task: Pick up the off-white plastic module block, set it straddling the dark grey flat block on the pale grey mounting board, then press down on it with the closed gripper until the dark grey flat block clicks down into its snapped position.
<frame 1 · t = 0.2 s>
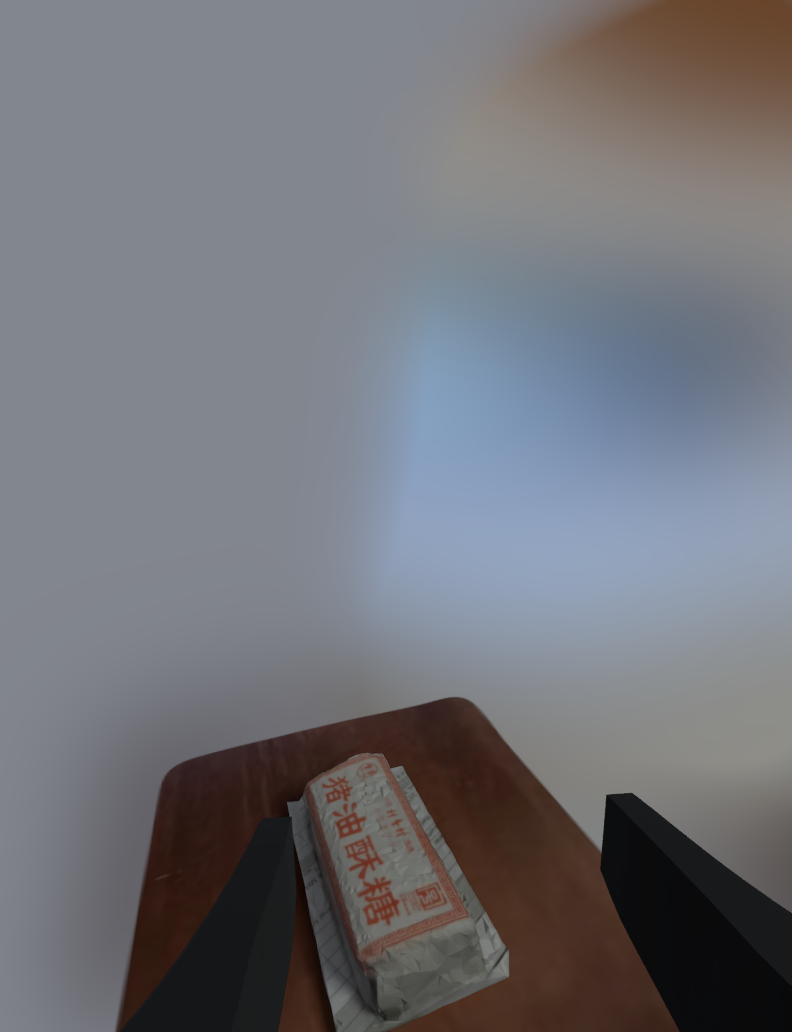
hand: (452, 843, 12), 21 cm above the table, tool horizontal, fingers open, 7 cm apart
packaged product: (380, 885, 36), on the table
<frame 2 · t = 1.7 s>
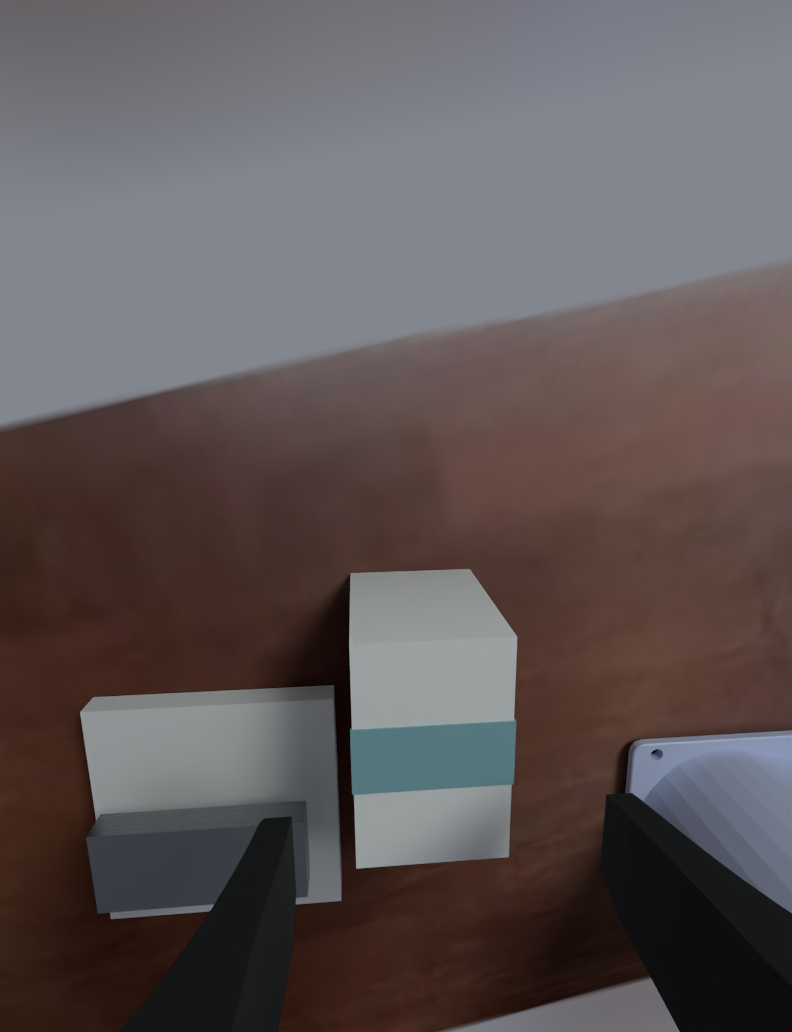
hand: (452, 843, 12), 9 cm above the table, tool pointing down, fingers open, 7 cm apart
dark grey flat block: (204, 855, 18), point 3 cm above the table, slide at 0.0 cm
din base: (224, 793, 21), on the table
module: (411, 657, 21), on the table
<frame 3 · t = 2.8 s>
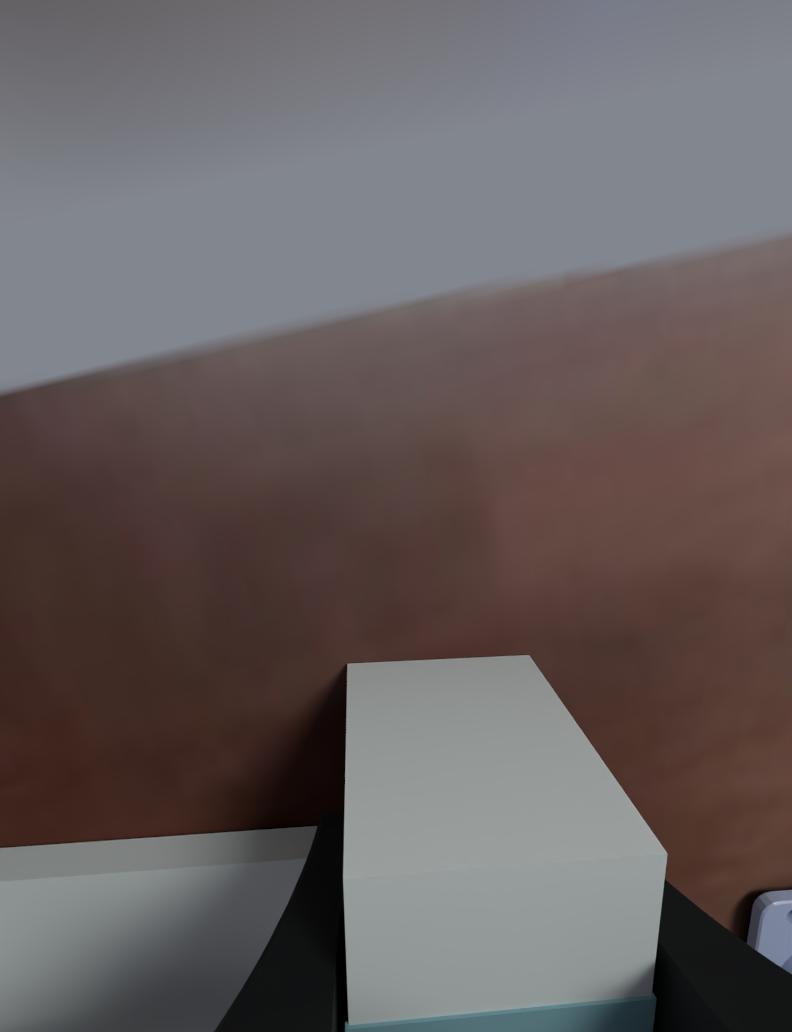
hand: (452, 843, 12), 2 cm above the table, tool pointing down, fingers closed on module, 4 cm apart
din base: (162, 980, 14), on the table
module: (438, 783, 14), on the table, touching gripper
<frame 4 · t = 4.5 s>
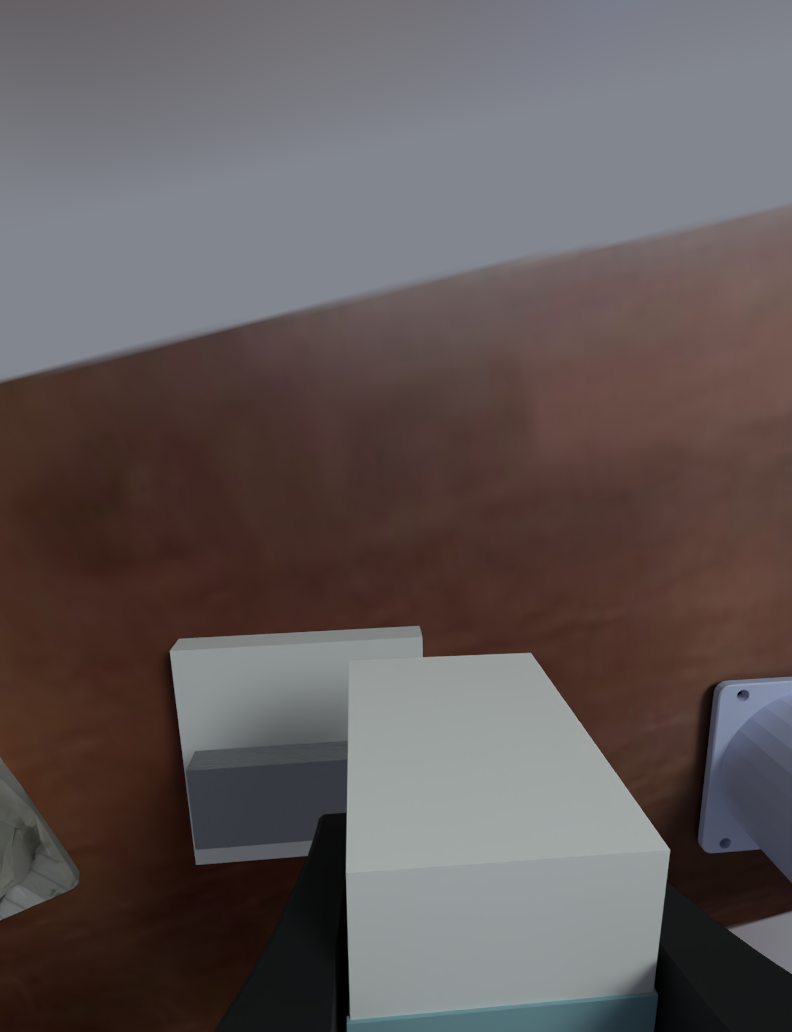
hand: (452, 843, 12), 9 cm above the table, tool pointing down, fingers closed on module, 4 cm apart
dark grey flat block: (300, 792, 18), point 3 cm above the table, slide at 0.0 cm
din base: (307, 738, 21), on the table
module: (439, 781, 14), point 7 cm above the table, touching gripper
when the fingers open (5 cm above the table, at t = 6.1 s): module drops 1 cm, resting on dark grey flat block.
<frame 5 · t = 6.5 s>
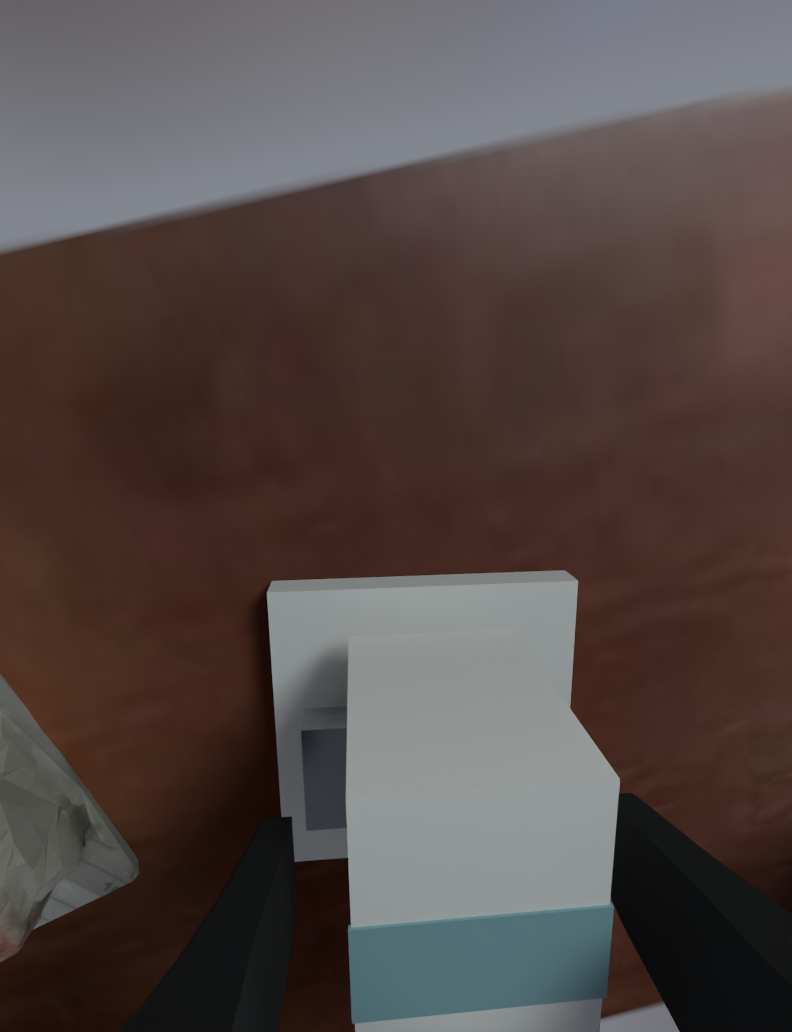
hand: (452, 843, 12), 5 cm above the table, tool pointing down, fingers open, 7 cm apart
dark grey flat block: (433, 761, 15), point 3 cm above the table, slide at 0.4 cm, touching module
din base: (421, 708, 17), on the table
module: (432, 747, 15), point 2 cm above the table, touching dark grey flat block
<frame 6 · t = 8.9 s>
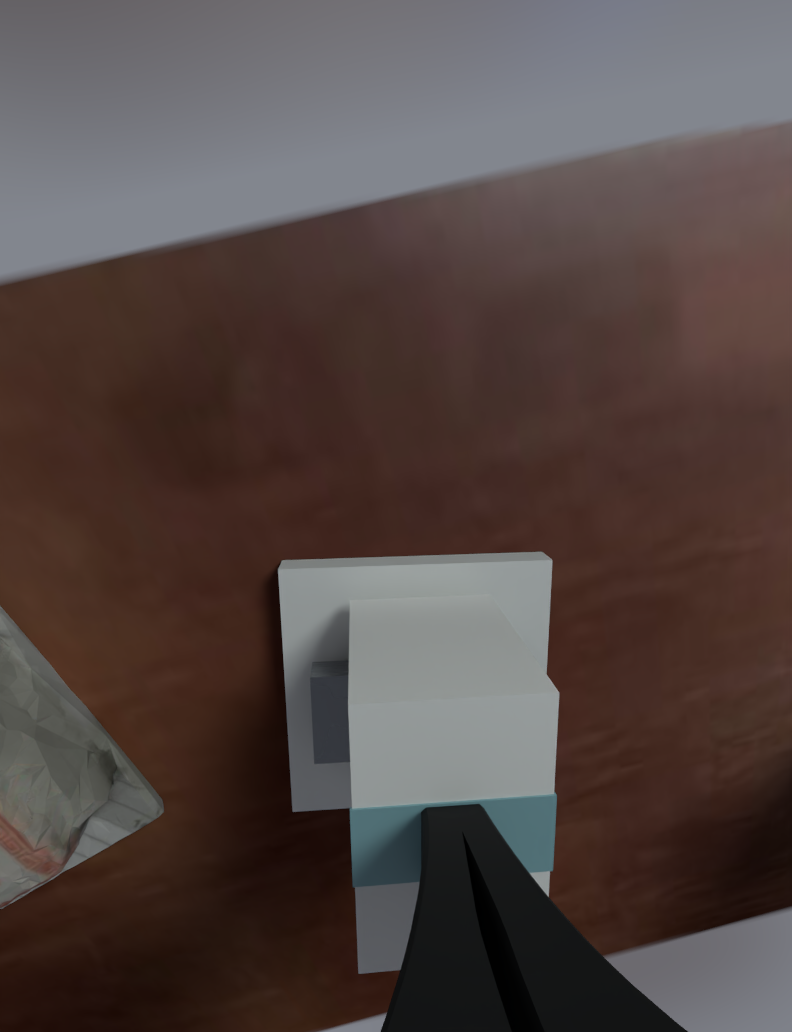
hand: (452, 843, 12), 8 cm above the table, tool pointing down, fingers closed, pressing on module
dark grey flat block: (421, 706, 17), point 2 cm above the table, slide at 1.0 cm, touching module
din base: (414, 675, 19), on the table
module: (421, 696, 18), point 2 cm above the table, touching gripper, dark grey flat block
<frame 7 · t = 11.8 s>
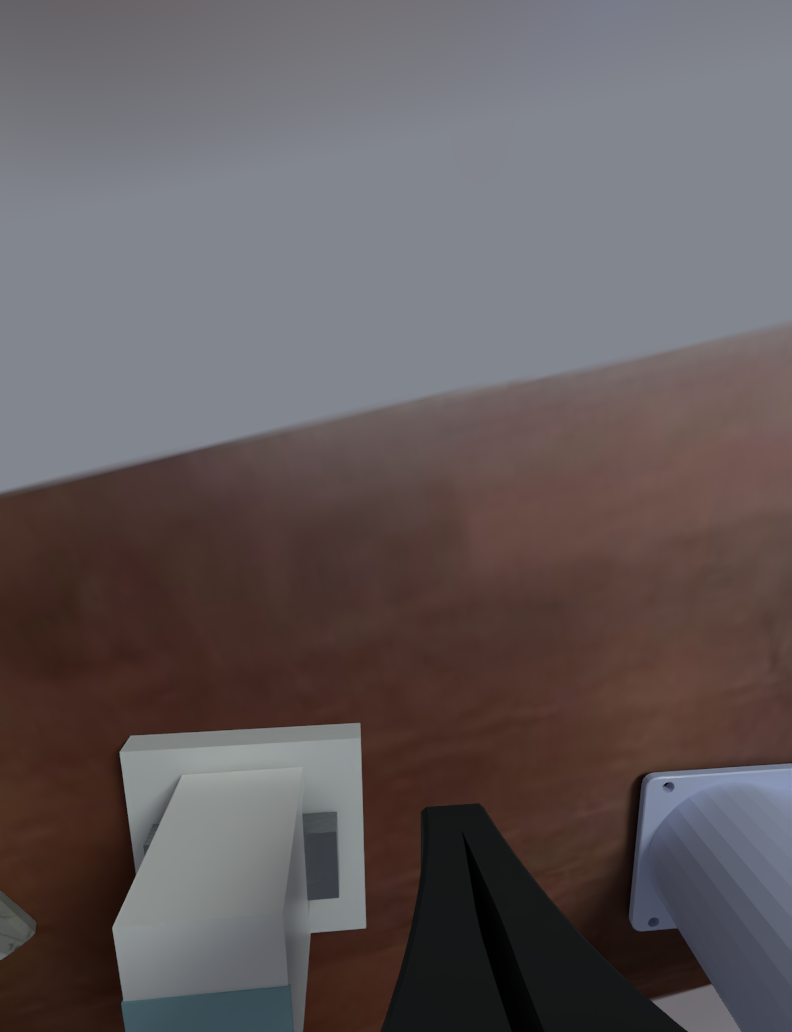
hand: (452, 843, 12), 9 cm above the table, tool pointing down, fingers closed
dark grey flat block: (246, 861, 21), point 2 cm above the table, slide at 1.3 cm, touching module
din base: (254, 826, 22), on the table
module: (249, 849, 21), point 1 cm above the table, touching dark grey flat block
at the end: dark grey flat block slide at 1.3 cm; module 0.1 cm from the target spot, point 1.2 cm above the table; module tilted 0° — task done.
